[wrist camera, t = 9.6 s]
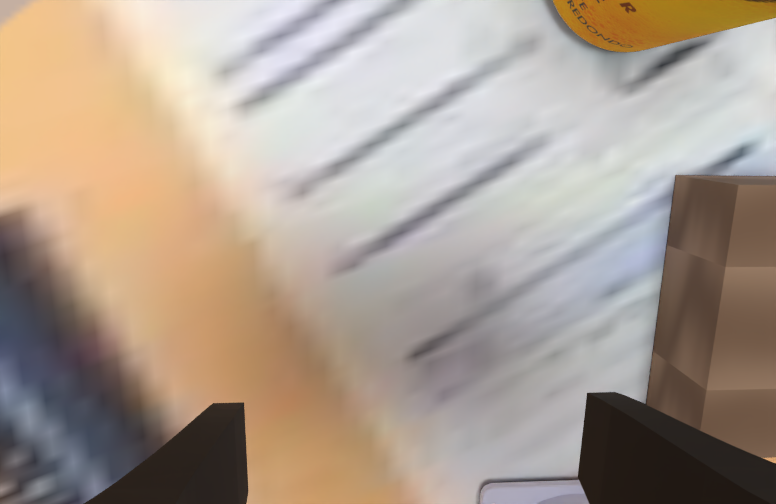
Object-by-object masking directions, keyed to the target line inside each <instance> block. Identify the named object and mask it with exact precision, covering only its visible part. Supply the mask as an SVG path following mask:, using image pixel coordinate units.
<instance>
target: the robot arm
mask: <svg viewBox="0 0 776 504" xmlns="http://www.w3.org/2000/svg"><path fill="white" fill-rule="evenodd" d="M578 479H579V480H561V481H533V482H505V483H490V484H487V485H485V486H484V487H483V488H482V490H481V493H480V504H776V464H775V463H773V462H770V461H768V460H765V459H763V458H761V457H758V456H756V455H754V454H751V453H749V452H747V451H744V450H742V449H740V448H737V447H735V446H733V445H730V444H728V443H726V442H724V441H722V440H719V439H717V438H715V437H713V436H711V435H709V434H706V433H704V432H702V431H700V430H698V429H696V428H694V427H692V426H690V425H687V424H685V423H683V422H681V421H679V420H677V419H675V418H673V417H671V416H669V415H667V414H665V413H662V412H660V411H658V410H656V409H654V408H652V407H650V406H648V405H645V404H643V403H641V402H639V401H637V400H634V399H632V398H630V397H627V396H624V395H622V394H619V393H616V392H606V393H587V400H586V409H585V418H584V427H583V436H582V445H581V454H580V463H579V472H578ZM247 496H248V476H247V456H246V435H245V415H244V403H213V404H212V405H211V406H209V407H208V408H207V409H206V410H204V411H203V412H202V413H201V414H200V415H199V416H198V417H196V418H195V419H194V420H193V421H192V422H191V423H190V424H188V425H187V426H186V427H185V428H184V429H183V430H182V431H180V432H179V433H178V434H177V435H176V436H174V437H173V438H172V439H171V440H170V441H169V442H167V443H166V444H165V445H164V446H163V447H161V448H160V449H159V450H158V451H157V452H155V453H154V454H153V455H152V456H150V457H149V458H148V459H146V460H145V461H144V462H142V463H141V464H140V465H138V466H137V467H136V468H134V469H133V470H132V471H130V472H129V473H128V474H126V475H125V476H124V477H123V478H121V479H120V480H119V481H117V482H116V483H114V484H113V485H112V486H110V487H109V488H107V489H106V490H104V491H103V492H101V493H100V494H98V495H97V496H95V497H94V498H92V499H91V500H89V501H87V502H86V503H84V504H246V502H247Z"/></svg>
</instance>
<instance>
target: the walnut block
mask: <svg viewBox="0 0 776 504" xmlns="http://www.w3.org/2000/svg"><path fill="white" fill-rule="evenodd" d="M646 405H648V406H650V407H652V408H654V409H656V410H658V411H660V412H662V413H665V414H667V415H669V416H671V417H673V418H675V419H677V420H679V421H681V422H683V423H685V424H687V425H690V426H692V427H694V428H696V429H698V430H700V431H702V432H704V433H706V434H709V435H711V436H713V437H715V438H717V439H719V440H722V441H724V442H726V443H728V444H730V445H733V446H735V447H737V448H740V449H742V450H744V451H747V452H749V453H751V454H754V455H756V456H758V457H761V458H767V457H776V176H702V175H676V179H675V187H674V194H673V202H672V210H671V217H670V225H669V233H668V240H667V248H666V256H665V263H664V271H663V279H662V286H661V294H660V302H659V309H658V317H657V325H656V333H655V340H654V348H653V356H652V363H651V371H650V379H649V386H648V394H647V402H646Z"/></svg>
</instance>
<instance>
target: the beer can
mask: <svg viewBox="0 0 776 504" xmlns="http://www.w3.org/2000/svg"><path fill="white" fill-rule="evenodd" d="M553 3H554V5H555V7H556V9H557V11H558V13H559V14H560V16H561V17H562V19H563V20H564V22H565V23H566V24H567V25H568V26H569V27H570V28H571V30H572V31H574V32H575V33H576V34H577V35H578V36H579V37H581V38H582V39H584V40H585V41H587V42H588V43H590V44H592V45H594V46H597V47H599V48H602V49H605V50H610V51H615V52H636V51H641V50H646V49H650V48H654V47H658V46H662V45H666V44H670V43H675V42H679V41H683V40H687V39H691V38H695V37H699V36H703V35H707V34H711V33H715V32H719V31H723V30H728V29H732V28H736V27H740V26H744V25H748V24H752V23H756V22H760V21H764V20H768V19H772V18H776V0H553Z"/></svg>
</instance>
